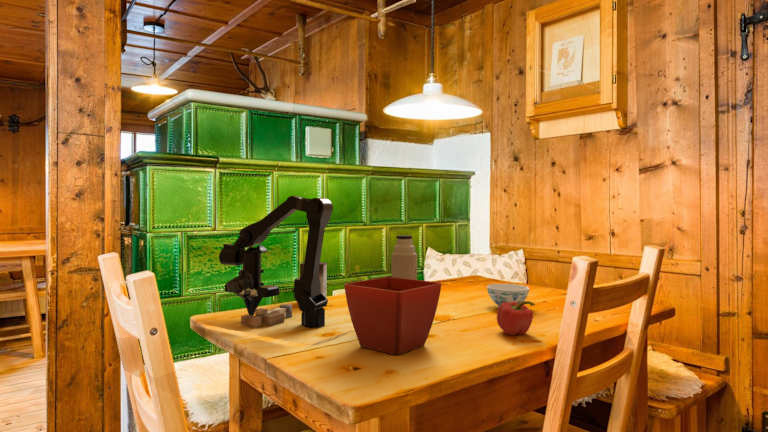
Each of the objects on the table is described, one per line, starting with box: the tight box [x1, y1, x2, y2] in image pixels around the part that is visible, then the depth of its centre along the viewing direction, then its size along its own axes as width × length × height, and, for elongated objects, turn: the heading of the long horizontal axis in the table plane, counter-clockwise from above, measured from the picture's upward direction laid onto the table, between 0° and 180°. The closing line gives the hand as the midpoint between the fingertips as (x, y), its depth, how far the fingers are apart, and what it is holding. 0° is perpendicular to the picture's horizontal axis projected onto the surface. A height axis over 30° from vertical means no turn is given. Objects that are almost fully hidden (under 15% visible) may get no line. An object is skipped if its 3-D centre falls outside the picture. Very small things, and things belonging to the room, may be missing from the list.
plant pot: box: [344, 276, 442, 356], centre depth 128 cm, size 19×19×17 cm
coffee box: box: [299, 261, 328, 298], centre depth 179 cm, size 9×6×16 cm
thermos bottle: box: [391, 234, 418, 280], centre depth 152 cm, size 8×8×28 cm
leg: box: [254, 303, 293, 326], centre depth 152 cm, size 14×4×4 cm, turn 149°
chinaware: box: [486, 283, 530, 308], centre depth 177 cm, size 15×15×8 cm
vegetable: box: [496, 300, 536, 336], centre depth 141 cm, size 11×10×10 cm
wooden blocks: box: [240, 312, 285, 330], centre depth 147 cm, size 8×10×4 cm
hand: (251, 316), depth 152 cm, fingers closed
